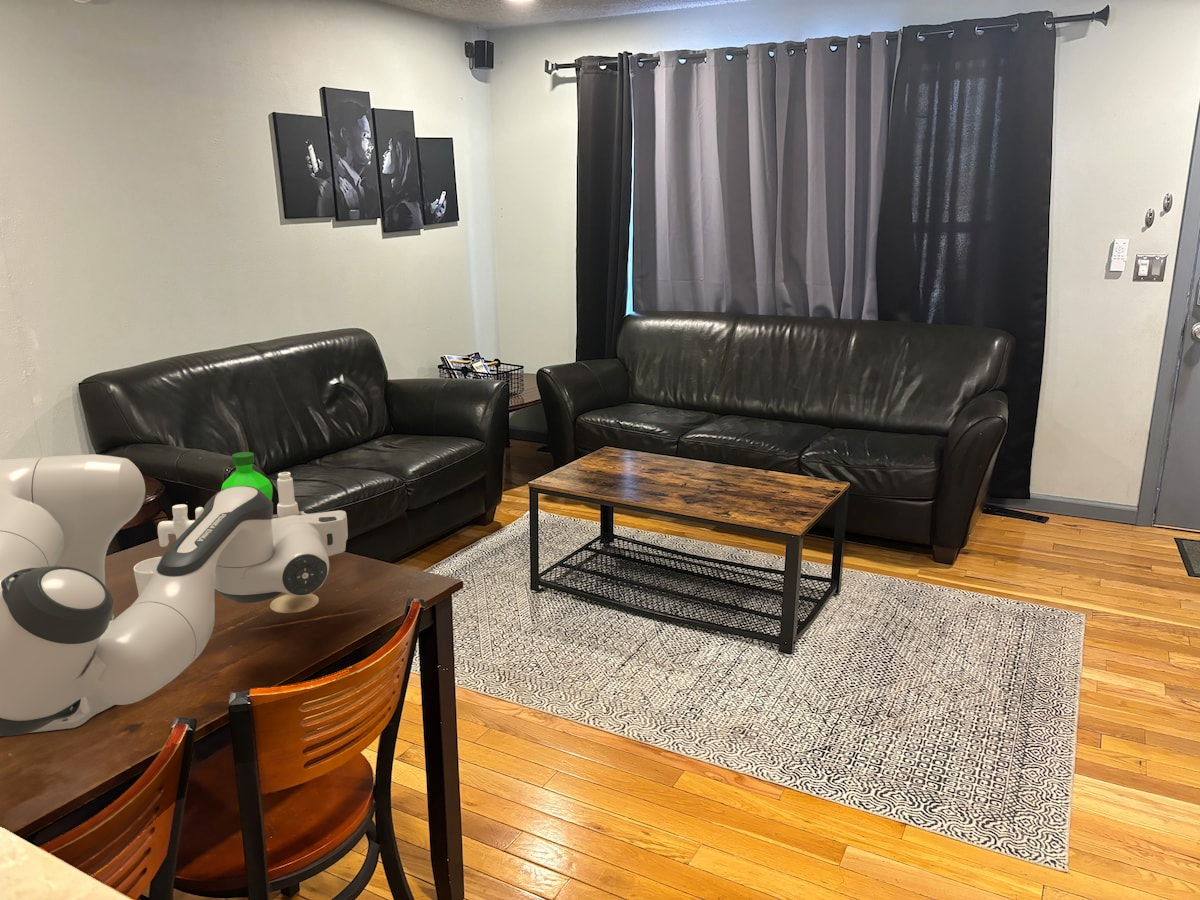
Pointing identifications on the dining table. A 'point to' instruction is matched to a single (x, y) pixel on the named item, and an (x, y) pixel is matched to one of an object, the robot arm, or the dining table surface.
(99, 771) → the dining table surface
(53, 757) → the dining table surface
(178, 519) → the figurine
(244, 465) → the plastic bottle
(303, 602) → the coaster free
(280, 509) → the cosmetic bottle
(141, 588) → the white cup
